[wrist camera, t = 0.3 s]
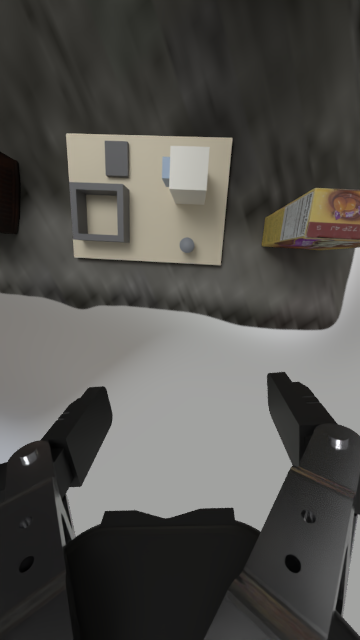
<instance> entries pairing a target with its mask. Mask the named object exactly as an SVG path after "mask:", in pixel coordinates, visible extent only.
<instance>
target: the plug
mask: <svg viewBox="0 0 360 640" xmlns="http://www.w3.org/2000/svg"><path fill="white" fill-rule="evenodd" d="M209 149H210V147H196V146H171V147H170V157H162V179H163V182H164V184H165V186H166V187H169V190H170V192H171V195H172V197H173V199H174V201H175V204H195V205H204V204H205V197H206V190H207V176H208V162H209Z"/></svg>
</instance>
